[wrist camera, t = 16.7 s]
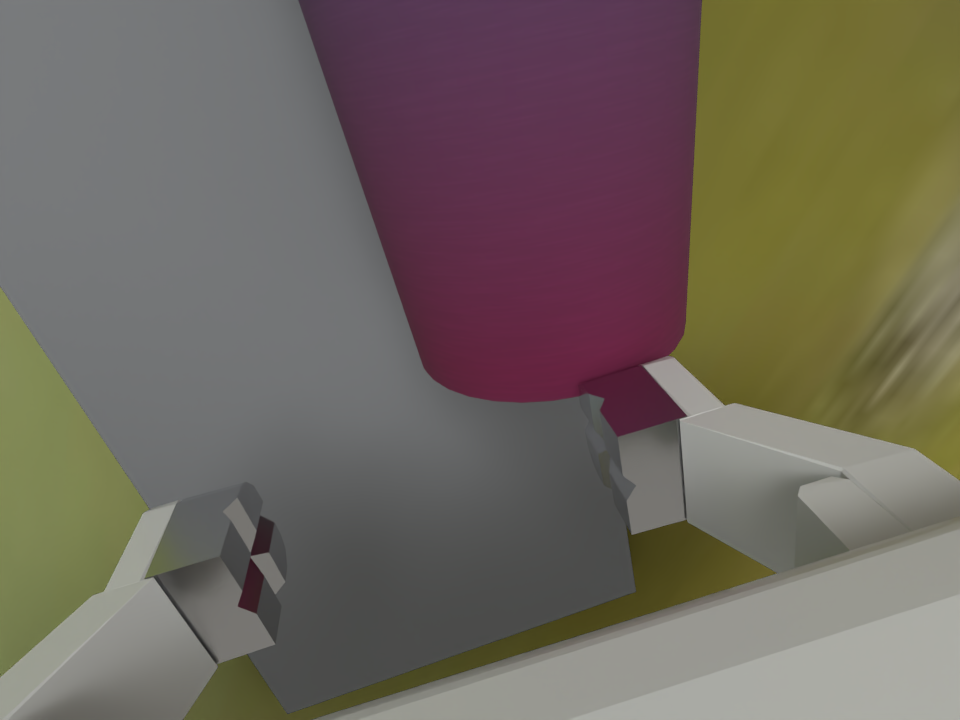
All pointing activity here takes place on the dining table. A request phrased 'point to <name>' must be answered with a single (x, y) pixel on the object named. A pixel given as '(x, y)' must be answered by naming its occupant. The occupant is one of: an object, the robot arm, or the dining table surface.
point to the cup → (523, 177)
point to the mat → (275, 339)
